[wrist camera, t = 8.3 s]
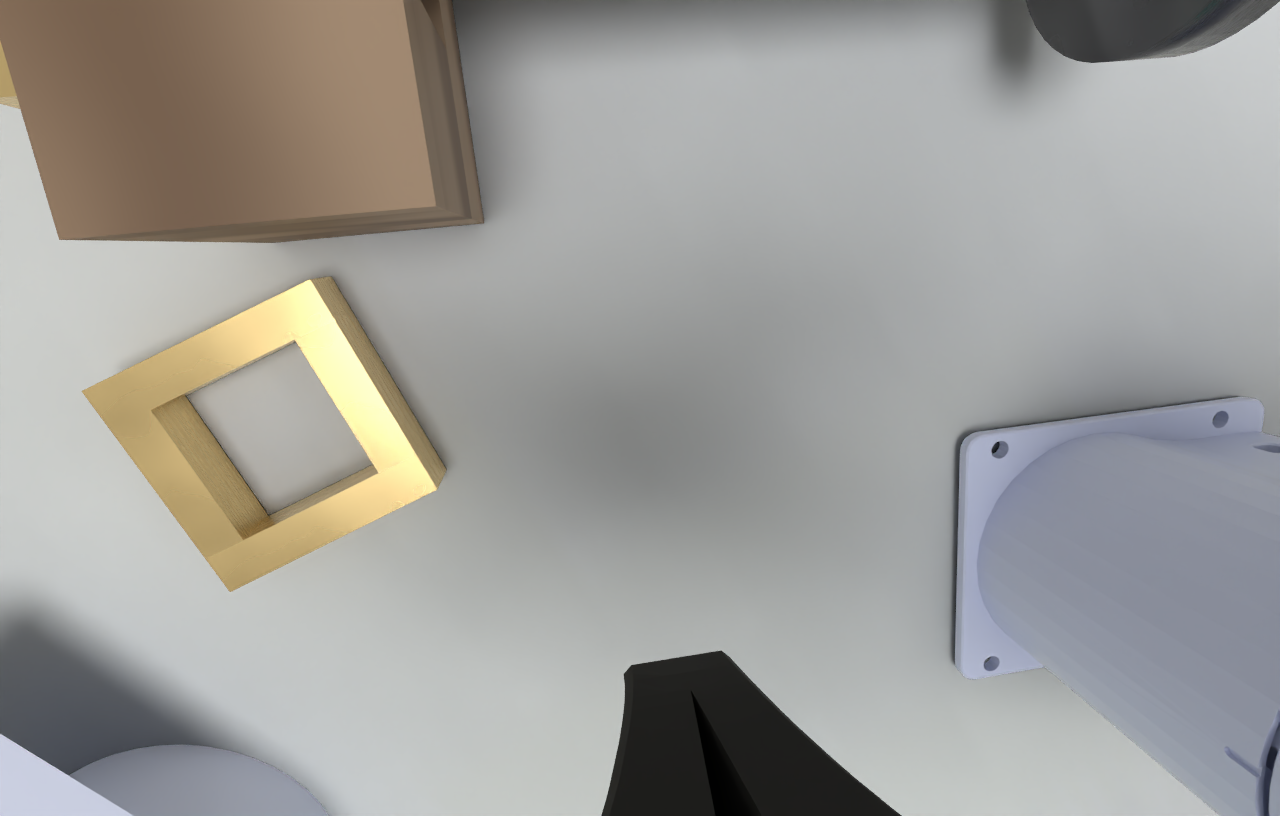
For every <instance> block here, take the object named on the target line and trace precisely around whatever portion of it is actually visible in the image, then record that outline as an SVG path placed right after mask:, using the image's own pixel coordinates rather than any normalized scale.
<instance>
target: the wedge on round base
mask: <svg viewBox="0 0 1280 816" xmlns="http://www.w3.org/2000/svg"><path fill="white" fill-rule="evenodd" d="M0 816H329V815H328V813H327V812H326V810H325V809H324V808H323V806H322V805H321V803H320V802H319V801H318V800H317V799H316V798H315V797H314V796H313V795H312V794H311V793H310V792H309V791H308V790H307V789H306V788H304V787H303V786H302V785H300V784H299V783H298V782H297V781H295V780H294V779H293V778H291V777H290V776H288V775H287V774H285V773H283V772H281V771H280V770H278V769H276V768H275V767H273V766H271V765H269V764H266V763H264V762H262V761H259V760H257V759H255V758H253V757H249V756H246V755H243V754H240V753H236V752H233V751H229V750H224V749H219V748H213V747H208V746H196V745H158V746H151V747H144V748H137V749H132V750H129V751H125V752H121V753H117V754H113V755H110V756H108V757H105V758H103V759H100V760H98V761H95V762H92V763H90V764H88V765H87V766H85V767H83V768H81V769H79V770H77V771H75V772H74V773H72V774H70V775H69V776H68V775H67V774H65V773H63V772H62V771H60V770H58V769H57V768H55V767H54V766H52V765H50V764H49V763H47V762H45V761H44V760H42V759H41V758H39V757H37V756H36V755H34V754H32V753H31V752H29V751H28V750H26V749H24V748H23V747H21V746H19V745H18V744H16V743H14V742H13V741H11V740H10V739H8V738H6V737H5V736H3V735H1V734H0Z"/></svg>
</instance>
